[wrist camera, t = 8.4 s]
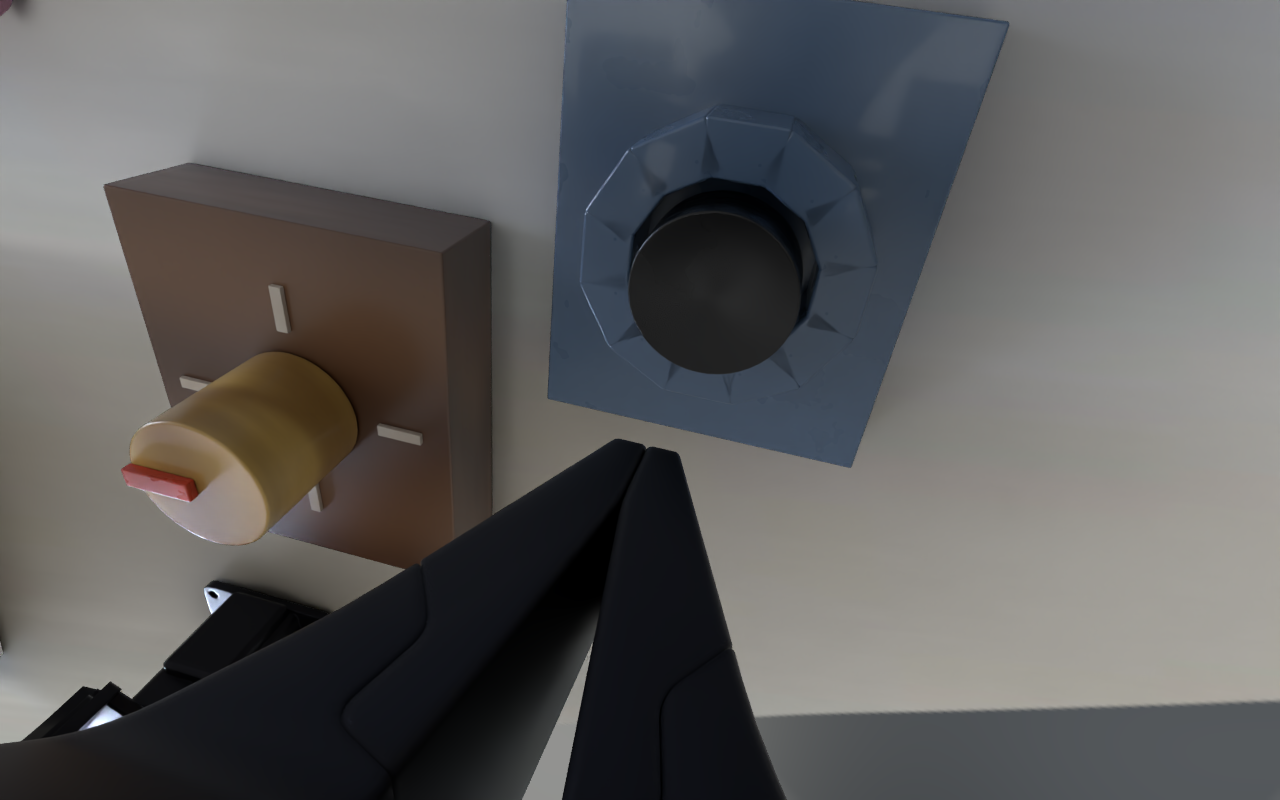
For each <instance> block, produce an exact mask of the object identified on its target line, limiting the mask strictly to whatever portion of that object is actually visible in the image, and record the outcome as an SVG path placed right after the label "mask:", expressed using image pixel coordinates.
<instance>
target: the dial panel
mask: <svg viewBox="0 0 1280 800" xmlns="http://www.w3.org/2000/svg"><path fill="white" fill-rule="evenodd" d="M103 187H104V191H105V194H106V197H107V200H108V204H109V207H110V210H111V213H112V217H113V220H114V223H115V226H116V230H117V233H118V236H119V239H120V243H121V246H122V249H123V252H124V256H125V259H126V262H127V265H128V269H129V272H130V275H131V278H132V282H133V285H134V288H135V291H136V295H137V298H138V301H139V304H140V308H141V311H142V314H143V317H144V321H145V324H146V327H147V330H148V334H149V337H150V340H151V343H152V347H153V350H154V353H155V356H156V360H157V363H158V366H159V369H160V373H161V376H162V379H163V382H164V386H165V389H166V392H167V395H168V399H169V402H170V405H171V408H172V407H173V406H175V405H177V404H178V403H180V402H182V401H183V400H185V399H186V398H188V397H190V396H191V395H193V394H194V393H196V392H198V391H199V390H201V389H202V388H204V387H206V386H207V385H209V384H210V383H212V382H214V381H215V380H217V379H218V378H220V377H222V376H223V375H225V374H226V373H228V372H230V371H231V370H233V369H234V368H236V367H238V366H239V365H241V364H242V363H244V362H246V361H247V360H249V359H250V358H252V357H254V356H256V355H258V354H261V353H266V352H284V353H289V354H292V355H296V356H298V357H301V358H303V359H305V360H307V361H309V362H311V363H313V364H314V365H316V366H317V367H319V368H320V369H322V370H323V371H324V372H325V373H327V374H328V375H329V376H330V377H331V378H332V379H333V380H334V381H335V382H336V383H337V384H338V385H339V386H340V388H341V389H342V390H343V392H344V393H345V395H346V396H347V398H348V400H349V401H350V403H351V405H352V407H353V410H354V413H355V416H356V420H357V428H358V432H357V439H356V443H355V445H354V447H353V449H352V451H351V452H350V453H349V454H348V455H347V456H346V457H345V458H344V459H343V460H342V461H341V462H340V463H339V464H338V465H337V466H336V467H335V468H334V469H333V470H332V471H330V472H329V473H328V474H327V475H326V476H325V477H324V478H323V479H322V480H321V481H320V482H319V483H318V484H317V485H316V486H315V487H314V488H313V489H312V490H311V491H310V492H308V493H307V494H306V495H305V496H304V497H303V498H302V499H301V500H300V501H299V502H298V503H297V504H296V505H295V506H294V507H293V508H292V509H291V510H290V511H289V512H288V513H286V514H285V515H284V516H283V517H282V518H281V519H280V520H279V521H278V522H277V523H276V524H275V525H274V526H273V527H272V528H271V529H270V530H269V531H268V532H271V533H275V534H278V535H282V536H285V537H289V538H293V539H296V540H300V541H304V542H307V543H311V544H315V545H318V546H322V547H326V548H329V549H333V550H337V551H340V552H344V553H348V554H351V555H355V556H359V557H362V558H366V559H370V560H373V561H377V562H381V563H384V564H388V565H392V566H395V567H399V568H402V569H407V568H409V567H410V566H412V565H413V564H416V563H417V564H419V565H420V562H421V560H422V559H423V558H425V557H427V556H428V555H430V554H431V553H433V552H435V551H436V550H438V549H439V548H441V547H443V546H444V545H446V544H447V543H449V542H451V541H452V540H454V539H455V538H457V537H459V536H460V535H462V534H463V533H465V532H467V531H468V530H470V529H471V528H473V527H475V526H476V525H478V524H479V523H481V522H483V521H484V520H486V519H487V518H489V517H491V516H492V444H491V222H490V221H487V220H482V219H477V218H472V217H467V216H461V215H456V214H451V213H446V212H441V211H436V210H430V209H425V208H420V207H415V206H410V205H405V204H399V203H394V202H389V201H384V200H379V199H373V198H368V197H363V196H358V195H353V194H348V193H342V192H337V191H332V190H327V189H322V188H317V187H311V186H306V185H301V184H296V183H291V182H286V181H280V180H275V179H270V178H265V177H260V176H254V175H249V174H244V173H239V172H234V171H229V170H223V169H218V168H213V167H208V166H203V165H198V164H192V163H186V164H182V165H178V166H174V167H170V168H167V169H163V170H159V171H155V172H151V173H147V174H143V175H139V176H135V177H131V178H127V179H123V180H119V181H116V182H112V183H108V184H104V185H103ZM420 566H421V565H420Z"/></svg>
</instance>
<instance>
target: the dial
mask: <svg viewBox="0 0 1280 800" xmlns="http://www.w3.org/2000/svg"><path fill="white" fill-rule="evenodd" d="M357 432H358V428H357V420H356V416H355V413H354V410H353V407H352V405H351V403H350V401H349V400H348V398H347V396H346V395H345V393H344V392H343V390H342V389H341V388H340V386H339V385H338V384H337V383H336V382H335V381H334V380H333V379H332V378H331V377H330V376H329V375H328V374H327V373H325V372H324V371H323V370H322V369H320V368H319V367H317V366H316V365H314V364H313V363H311V362H309V361H307V360H305V359H303V358H301V357H298V356H296V355H292V354H289V353H284V352H266V353H261V354H258V355H256V356H254V357H252V358H250V359H249V360H247V361H246V362H244V363H242V364H241V365H239V366H238V367H236V368H234V369H233V370H231V371H230V372H228V373H226V374H225V375H223V376H222V377H220V378H218V379H217V380H215V381H214V382H212V383H210V384H209V385H207V386H206V387H204V388H202V389H201V390H199V391H198V392H196V393H194V394H193V395H191V396H190V397H188V398H186V399H185V400H183V401H182V402H180V403H178V404H177V405H175V406H173V407H172V408H170V409H169V410H167V411H165V412H164V413H162V414H161V415H159V416H157V417H156V418H154V419H153V420H151V421H149V422H148V423H146V424H145V425H143V426H142V427H141V428H139V429H138V430H137V432H136V433H135V434H134V436H133V438H132V440H131V444H130V460H131V463H130V464H128V465H127V466H125V467H124V468H122V469H121V471H122V474H123V477H124V479H125V482H126V484H127V486H130V487H134V488H138V489H142V490H144V491H145V492H146V494H147V495H148V496H149V497H150V499H151V500H152V501H153V502H154V503H155V504H156V505H157V506H158V507H159V509H161V510H162V511H163V512H164V513H165V514H166V515H167V516H168V517H170V518H171V519H172V520H173V521H174V522H176V523H177V524H179V525H180V526H182V527H183V528H185V529H186V530H188V531H190V532H191V533H193V534H195V535H197V536H199V537H202V538H204V539H206V540H209V541H212V542H215V543H219V544H224V545H232V546H239V545H246V544H249V543H252V542H255V541H257V540H258V539H260V538H261V537H262V536H263V535H264V534H265V533H267V532H268V531H269V530H270V529H271V528H272V527H273V526H274V525H275V524H276V523H277V522H278V521H279V520H280V519H281V518H282V517H283V516H284V515H285V514H286V513H288V512H289V511H290V510H291V509H292V508H293V507H294V506H295V505H296V504H297V503H298V502H299V501H300V500H301V499H302V498H303V497H304V496H305V495H306V494H307V493H308V492H310V491H311V490H312V489H313V488H314V487H315V486H316V485H317V484H318V483H319V482H320V481H321V480H322V479H323V478H324V477H325V476H326V475H327V474H328V473H329V472H330V471H332V470H333V469H334V468H335V467H336V466H337V465H338V464H339V463H340V462H341V461H342V460H343V459H344V458H345V457H346V456H347V455H348V454H349V453H350V452H351V451H352V449H353V447H354V445H355V443H356V439H357Z"/></svg>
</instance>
